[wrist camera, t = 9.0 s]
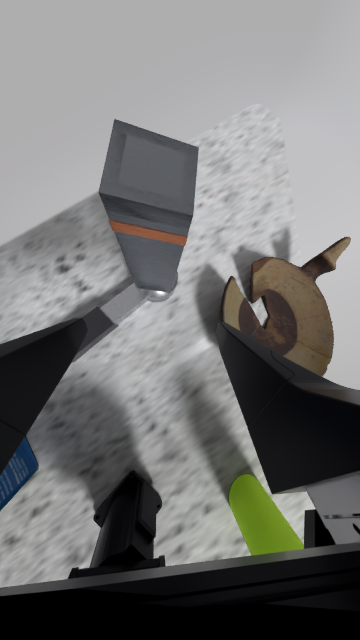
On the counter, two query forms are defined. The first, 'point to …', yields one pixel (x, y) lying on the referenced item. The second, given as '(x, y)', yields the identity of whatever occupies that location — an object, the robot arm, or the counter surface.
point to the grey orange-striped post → (149, 201)
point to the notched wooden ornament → (287, 308)
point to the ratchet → (117, 313)
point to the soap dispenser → (260, 518)
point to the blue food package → (17, 472)
